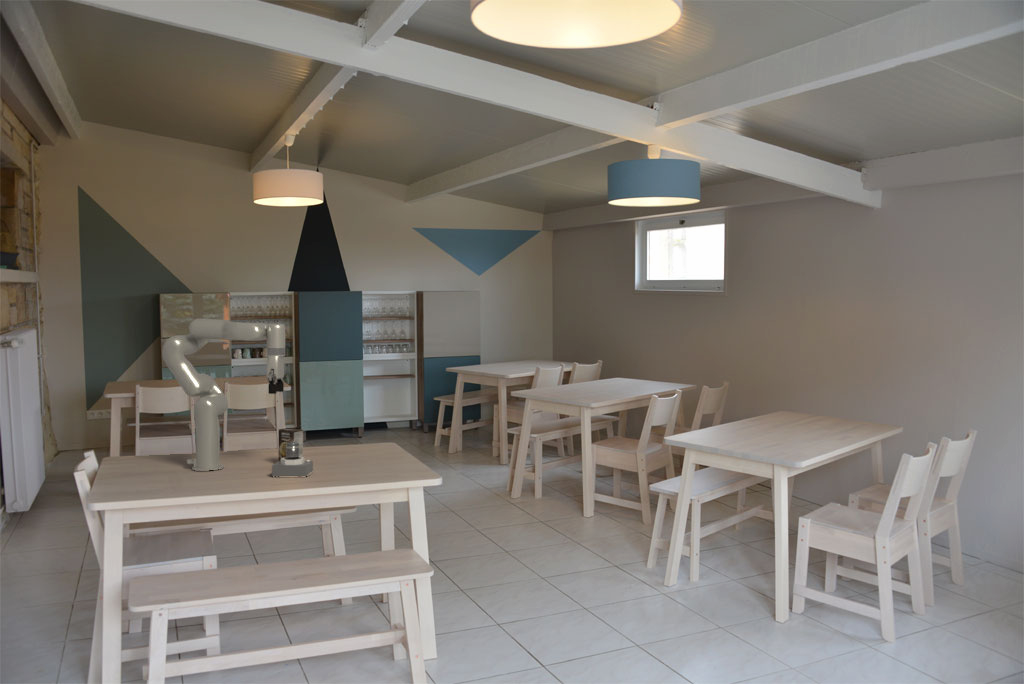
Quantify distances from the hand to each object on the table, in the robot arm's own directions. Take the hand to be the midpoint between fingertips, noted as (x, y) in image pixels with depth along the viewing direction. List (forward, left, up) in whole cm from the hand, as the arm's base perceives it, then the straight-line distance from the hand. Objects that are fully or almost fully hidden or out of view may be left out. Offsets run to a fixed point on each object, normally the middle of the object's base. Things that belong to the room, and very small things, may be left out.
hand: (276, 392), depth 324 cm
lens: (+10, -10, -28) cm, 32 cm away
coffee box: (+3, +11, -34) cm, 35 cm away
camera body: (+10, -10, -33) cm, 36 cm away
